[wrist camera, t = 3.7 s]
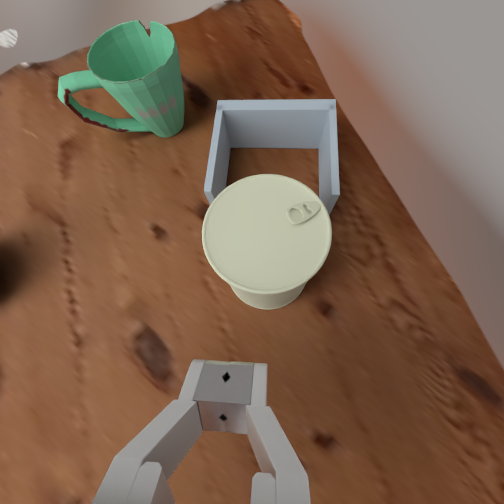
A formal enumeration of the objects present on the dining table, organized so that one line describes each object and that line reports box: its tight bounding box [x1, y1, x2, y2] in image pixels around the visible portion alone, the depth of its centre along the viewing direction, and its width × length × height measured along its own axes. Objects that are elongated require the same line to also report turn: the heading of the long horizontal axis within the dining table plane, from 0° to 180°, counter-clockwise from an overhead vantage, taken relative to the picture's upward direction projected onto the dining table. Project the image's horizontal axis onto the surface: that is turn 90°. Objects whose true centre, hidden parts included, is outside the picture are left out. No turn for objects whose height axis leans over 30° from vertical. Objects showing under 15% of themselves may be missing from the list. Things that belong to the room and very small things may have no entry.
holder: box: [204, 99, 340, 215], centre depth 29 cm, size 12×14×6 cm
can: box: [202, 174, 332, 310], centre depth 22 cm, size 9×9×12 cm
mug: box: [58, 20, 184, 137], centre depth 31 cm, size 15×10×10 cm
